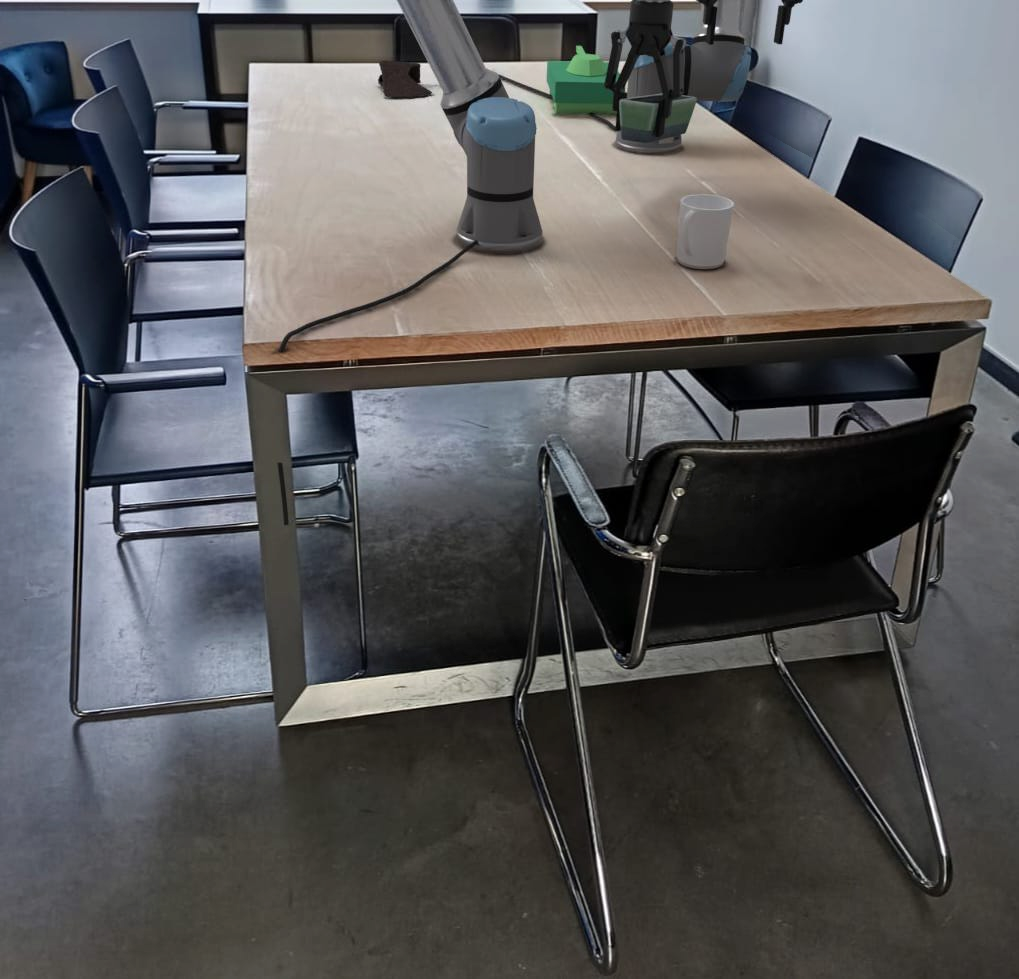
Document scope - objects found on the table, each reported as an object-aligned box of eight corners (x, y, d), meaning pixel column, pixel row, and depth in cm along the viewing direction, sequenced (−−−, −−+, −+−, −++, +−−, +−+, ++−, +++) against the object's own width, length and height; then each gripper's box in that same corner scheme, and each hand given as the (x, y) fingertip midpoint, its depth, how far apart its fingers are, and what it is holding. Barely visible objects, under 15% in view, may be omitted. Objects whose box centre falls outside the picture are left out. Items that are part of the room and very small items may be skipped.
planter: (649, 145, 200) (655, 104, 197) (613, 140, 202) (618, 99, 199) (692, 134, 223) (698, 97, 220) (659, 129, 225) (664, 92, 222)
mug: (691, 248, 193) (697, 191, 188) (736, 260, 189) (743, 201, 183) (657, 264, 186) (663, 205, 181) (703, 277, 181) (710, 216, 176)
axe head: (443, 87, 294) (392, 77, 287) (436, 115, 299) (385, 106, 292) (421, 62, 307) (371, 52, 300) (414, 89, 311) (365, 80, 304)
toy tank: (609, 42, 301) (627, 67, 272) (606, 88, 308) (623, 118, 278) (545, 41, 301) (556, 65, 271) (543, 87, 307) (553, 116, 277)
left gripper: (714, 2, 191) (697, 136, 203) (607, -9, 198) (596, 121, 210) (701, 7, 185) (684, 144, 197) (591, -5, 193) (581, 129, 204)
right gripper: (817, -83, 203) (799, 39, 214) (686, -84, 199) (675, 40, 211) (832, -80, 196) (813, 46, 207) (698, -81, 193) (685, 47, 204)
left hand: (639, 132), depth 204 cm, fingers closed on planter, 7 cm apart
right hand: (743, 43), depth 209 cm, fingers open, 13 cm apart
